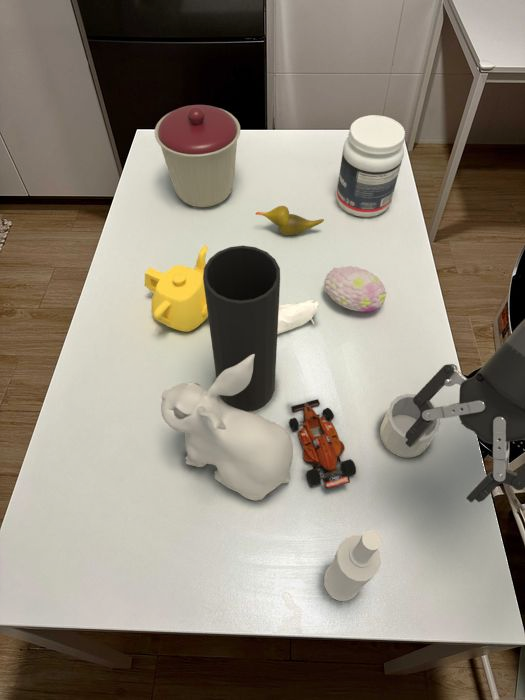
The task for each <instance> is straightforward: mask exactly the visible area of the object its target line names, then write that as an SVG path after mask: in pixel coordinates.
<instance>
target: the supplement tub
mask: <svg viewBox="0 0 525 700" xmlns="http://www.w3.org/2000/svg"><path fill="white" fill-rule="evenodd" d="M405 138H406V131H405V128H404V127H403V125H402V124H401V123H400V122H398V121H397V120H396V119H393V118H391V117H389V116H384V115H378V114H371V115H364V116H361V117H359V118H357V119H356V120H354V121H353V122H352V123H351V125H350V128H349V131H348V136H347V137H346V139H345V141H344V143H343V147H342V154H341V160H340V167H339V173H338V174H339V175H338V181H337V188H336V191H335V196H336V202H337V203H338V205H339V207H340V208H341V209H343V210H344V211H345V212H346V213H348V214H350V215H353V216H356V217H363V218H371V217H376V216H378V215H381V214H383V213H384V212H385V211H386V210H387V209H388V208H389V207H390V205H391V203H392V200H393V196H394V192H395V188H396V184H397V181H398V178H399V174H400V170H401V167H402V163H403V159H404V155H405V148H404V144H405Z"/></svg>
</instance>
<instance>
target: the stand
mask: <svg viewBox="0 0 525 700" xmlns="http://www.w3.org/2000/svg"><path fill="white" fill-rule="evenodd" d="M416 395H417V393H416V394H415V393H414V394H413V393H405V394H402V395H398V396H396V398H395V399H393V400H392V401H391V402H390V404H389V406H388V408H387V411H386V413H385V415H384V417H383V420H382V422H381V424H380V428H379V437H380V440H381V442H382V444H383V445H384V447H385V448H386V449H387V450H388V451H389V452H390V453H392V454H394V455H395V456H397V457H400V458H415V457H418V456H419V455H421V454H422V453H424V452H425V450H426V449H427V448H428V447H429V446H430V444H431V442H432V441H433V440H434V438H435V436H436V435H437V433H439V431H440V430H439V429H440V427H441V423H442V422H441V419H435V420H433V422H434V423H433V424H432V425H431V426H430V427H429V429H428V430H427V431H426V432H425V433H424V434H423V436H422V437H421V438H420V439H419V440H418V441H417V442H416V444H415V445H413V446H412V447H408V446H407V445H406V444H405V443H406V441H407V440H408V439H407V438H406V437H405V435H406V432H407V431H408V430H409V429H410V428H411V427H412V425H413V424H414V423H415V422H416V421H417V419H418V418H419V417H420V410H419V408H418V407H417V405H415V404H414V402H413V398H414V397H415V396H416ZM431 404H432V405H433V407H434V408H435V407H436V405H435V404H434V403H432V402H431Z"/></svg>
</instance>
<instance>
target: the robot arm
mask: <svg viewBox="0 0 525 700" xmlns="http://www.w3.org/2000/svg"><path fill="white" fill-rule="evenodd" d="M455 384H456V385H459V394H458V395H459V398H458V399H459V400H458V402H455V403H450V404H445V405H439V406H435V408H434V407H433V405H432V404H431V403H432V401H431V400H432V399H433V398H434V397H435V396H436V394H437V393H439V391H440V390H442V389H443V388H444V387H448V388H449V387H453V386H454V385H455ZM413 402H414V404H415V405H417V407H418V408H419V410H420V417H419V418H418V419H417V421H416V422H415V423H414V424H413V425H412V427H411V428H410V429H409V430H408V431H407V432H406V435H405V437H406V438H407V439H408V440H407V441H406V443H405V444H406V445H407V446H408V447H412V446H413V445H415V444H416V442H417V441H418V440H419V439H420V438H421V437H422V436H423V434H424V433H425V432H426V431H427V430H428V429H429V427H430V426H431V425H432V424H433V423H434V422H433V420H435V419H440V420H441V419H447V418H452V417H458V418H459V420H460V424H461V425H462V426H463V427H464V428H466V429H468V430H470V431H472V432H474V434H475V435H476V436H477V438H478V439H479V440H481V442H483V443H487V444H489V445H492V460H493V462H492V464H493V465H492V467H493V468H492V470H490V471H489V472H488V474H487V475H486V476H485V477H484V478H483V479H482V480H481V481H480V482H479V483H478V484H477V485H476V486H475V487H474V488H473V489H472V490H471V491H470V493H469V494H467V496H466V497H465V499H466V500H468V502H470V503H473V502H474V501H476V502H477V503H481V502H483V501H485V500H486V499H487V498H488V496H489V495H490V494H491V493H492V492H493V491H494V490H495V489H496V488H497V487H498V486H499V485H502V484H504V485H505V484H506V485H508V486H510V487H512V488H513V489H514V490H517V491H522V490H523V489H525V464H524V465H523V466H522V467H521V469H520V470H518V472H515V471H514V470H511V469H509V462H510V461H509V460H510V442H511V443H512V442H515V441H521V440H522V441H523V440H525V318H524V319H523V320H521V322H520V323H519V324H518V325H517V326H516V327H515V329H514V330H513V331H512V332H511V333H510V334H509V336H508V337H507V338H506V339H505V340H504V341H503V343H502V344H501V345H499V347H498V349H497V350H496V351H495V352H494V353H493V354H492V355H491V356H490V358H489V359H488V360H487V361H486V362H485V363H484V364H483V366H481V368H480V369H479V370H478V371H477V372H476V374H475V375H474V376H472V377H470V378H467V377H466V376H465V375H464V374H463V373H461V372H460V371H459V370H458V366H457V365H456V364H454V363H451V364H450V363H449V364H444V365H443V366H442V367H441V368H440V369H439V370H438V371H437V372H436V373H435V374H434V375H433V377H431V379H429V381H427V382H426V384H425V385H424V386H423V387H422V388H421V389H420V390H419V391H418V392H417V393H416V396H415V397H414V398H413Z"/></svg>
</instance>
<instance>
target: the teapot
mask: <svg viewBox="0 0 525 700" xmlns="http://www.w3.org/2000/svg"><path fill="white" fill-rule="evenodd" d="M208 249H209V246H208V245H203V246H202V247H201V249H200V250H199V252H198V255H197V259H196V263H195V266H194V268H191V267H189V266H186V265H181V264H177V265H174V266H172V267H171V268H169V269H167V271H166V272H162V271H159V270H158V269H155V268H152V267H149V268H148V269H146V271H145V272H144V287H145V288H147V289H148V290H149V291H151V292H152V293H153V294H152V297H151V313H152V316H153V319H155V321H156V322H159V323H161V324H163V325H165V326H166V327H168V328H171V329H174V330H177V331H181V332H191V331H194V330H195V329H196V328H198V327H199V326H200V325H201V324H202V323H204V322H205V321H206V319H208V311H207V304H206V296H205V289H204V281H203V273H204V267H205V266H206V264H207V262H206V256H207V253H208Z"/></svg>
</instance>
